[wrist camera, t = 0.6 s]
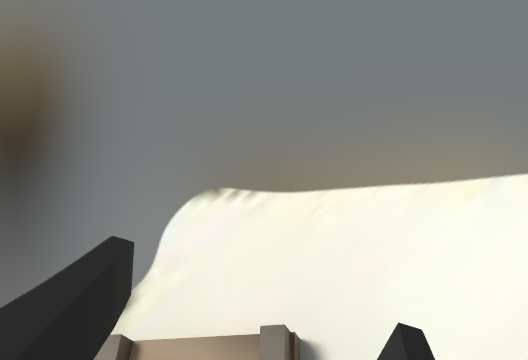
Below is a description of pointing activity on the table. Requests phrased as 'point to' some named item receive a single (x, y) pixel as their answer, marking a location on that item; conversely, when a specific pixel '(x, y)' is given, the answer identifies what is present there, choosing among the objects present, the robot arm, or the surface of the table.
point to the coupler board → (207, 347)
